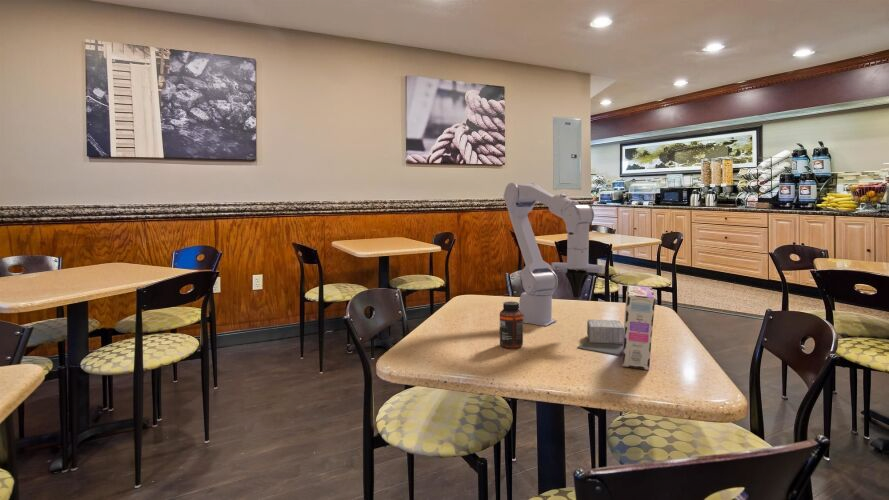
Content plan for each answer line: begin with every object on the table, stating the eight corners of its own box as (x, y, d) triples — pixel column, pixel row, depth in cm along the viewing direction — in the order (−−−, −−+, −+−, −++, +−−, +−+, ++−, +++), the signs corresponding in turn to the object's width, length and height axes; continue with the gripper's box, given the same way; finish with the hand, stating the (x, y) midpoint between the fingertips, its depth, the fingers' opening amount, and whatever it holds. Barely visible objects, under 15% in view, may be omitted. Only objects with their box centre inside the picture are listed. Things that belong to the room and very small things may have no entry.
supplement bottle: (524, 343, 129) (525, 301, 128) (520, 350, 123) (521, 305, 122) (502, 341, 131) (502, 299, 130) (497, 348, 125) (497, 304, 124)
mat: (577, 348, 125) (577, 347, 125) (598, 334, 138) (598, 333, 138) (621, 356, 118) (621, 354, 118) (639, 340, 131) (639, 339, 131)
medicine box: (589, 342, 129) (624, 344, 127) (589, 326, 128) (625, 327, 126) (586, 334, 136) (619, 336, 135) (587, 318, 136) (620, 320, 134)
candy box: (650, 371, 108) (655, 297, 106) (621, 367, 110) (626, 294, 108) (647, 352, 121) (652, 286, 119) (622, 348, 123) (626, 283, 121)
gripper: (547, 248, 137) (546, 296, 139) (598, 251, 129) (597, 302, 130) (557, 246, 143) (557, 292, 144) (607, 248, 134) (606, 298, 136)
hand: (577, 297), depth 137 cm, fingers closed
